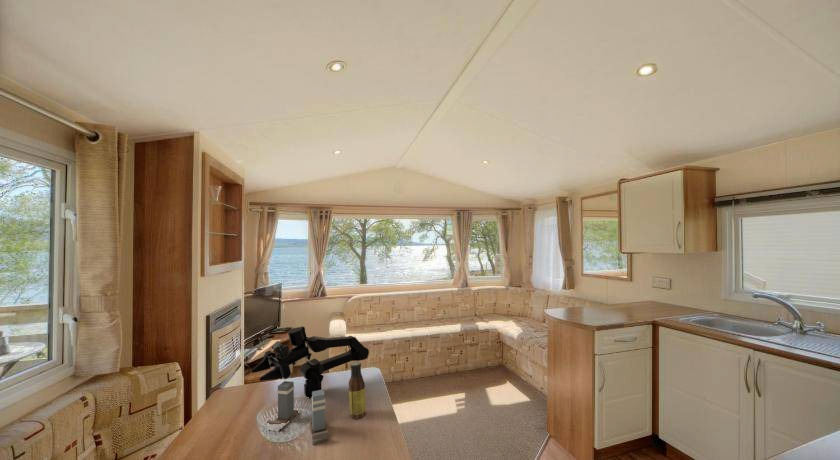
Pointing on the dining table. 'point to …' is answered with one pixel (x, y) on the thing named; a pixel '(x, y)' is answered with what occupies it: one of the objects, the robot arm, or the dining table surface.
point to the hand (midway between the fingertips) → (255, 375)
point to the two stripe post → (318, 410)
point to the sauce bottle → (357, 392)
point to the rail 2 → (319, 435)
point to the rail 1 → (279, 421)
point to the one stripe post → (285, 400)
